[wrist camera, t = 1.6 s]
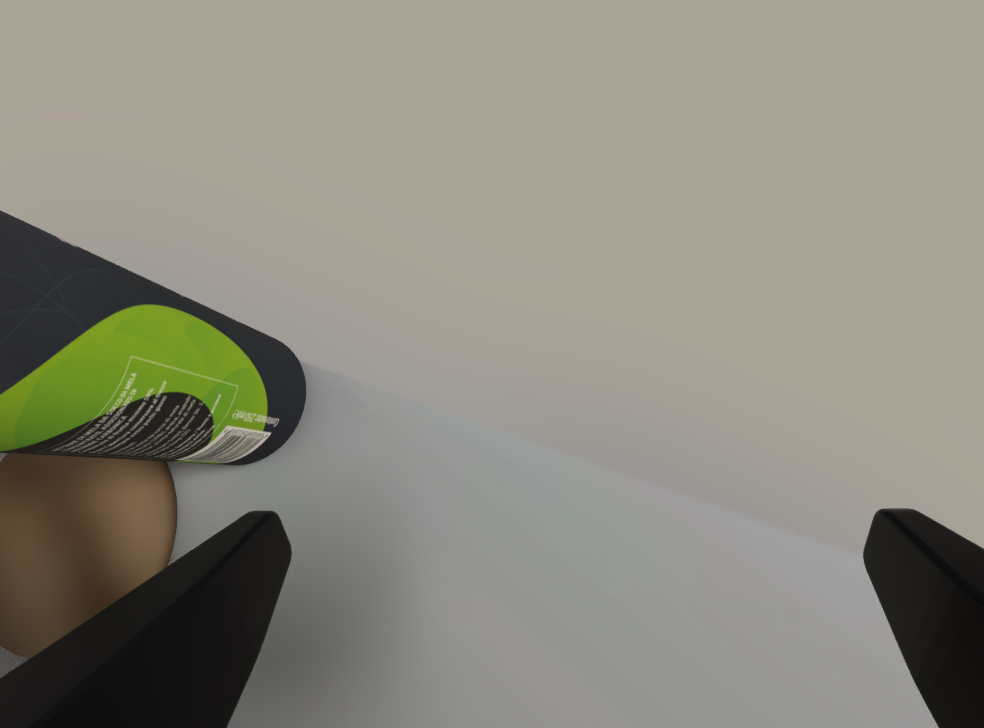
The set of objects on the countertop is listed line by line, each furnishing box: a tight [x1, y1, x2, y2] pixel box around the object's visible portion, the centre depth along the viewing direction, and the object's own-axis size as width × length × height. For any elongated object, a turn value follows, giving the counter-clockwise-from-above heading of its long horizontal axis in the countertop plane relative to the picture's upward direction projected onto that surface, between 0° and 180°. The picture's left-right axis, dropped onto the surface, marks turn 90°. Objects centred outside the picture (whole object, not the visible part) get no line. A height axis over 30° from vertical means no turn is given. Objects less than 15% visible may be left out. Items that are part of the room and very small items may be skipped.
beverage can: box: [0, 211, 306, 465], centre depth 18 cm, size 6×6×15 cm
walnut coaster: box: [0, 453, 177, 658], centre depth 25 cm, size 11×11×1 cm
